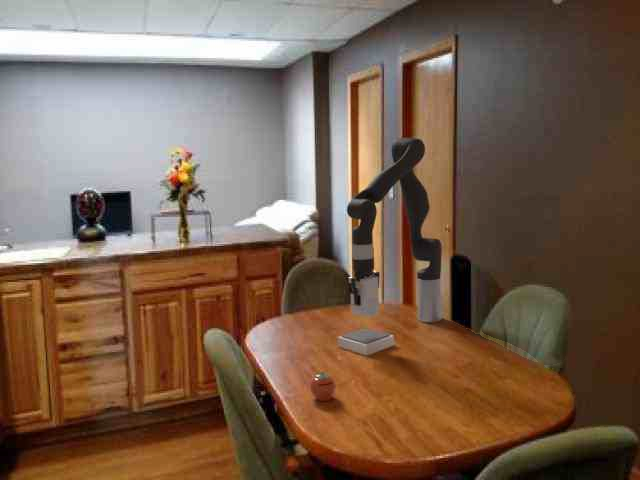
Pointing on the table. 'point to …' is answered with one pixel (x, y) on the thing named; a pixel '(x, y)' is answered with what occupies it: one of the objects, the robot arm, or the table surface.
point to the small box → (367, 297)
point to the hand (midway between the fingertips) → (364, 303)
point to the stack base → (365, 341)
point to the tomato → (322, 387)
